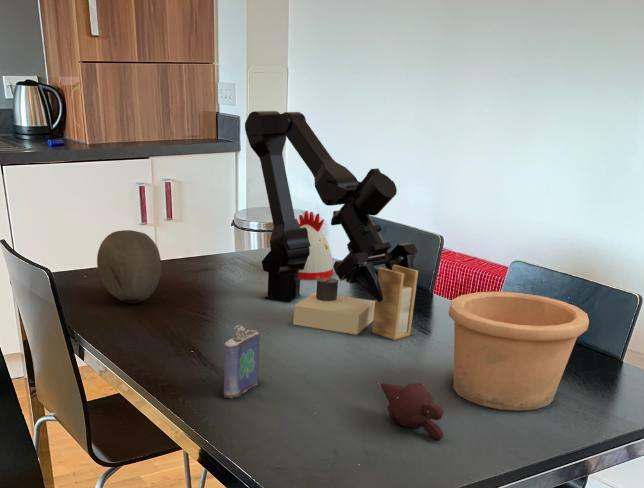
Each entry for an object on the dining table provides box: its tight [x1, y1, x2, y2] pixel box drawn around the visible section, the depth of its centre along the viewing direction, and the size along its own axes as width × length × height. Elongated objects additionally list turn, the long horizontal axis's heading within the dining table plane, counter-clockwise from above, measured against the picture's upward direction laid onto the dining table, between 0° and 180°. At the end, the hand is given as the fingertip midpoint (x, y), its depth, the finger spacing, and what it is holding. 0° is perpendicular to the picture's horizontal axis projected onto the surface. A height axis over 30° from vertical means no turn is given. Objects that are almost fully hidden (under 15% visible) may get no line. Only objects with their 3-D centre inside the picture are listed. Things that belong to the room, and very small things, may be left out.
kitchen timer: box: [295, 210, 334, 280], centre depth 198 cm, size 14×14×15 cm
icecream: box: [379, 382, 445, 441], centre depth 119 cm, size 7×7×15 cm
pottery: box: [448, 291, 590, 412], centre depth 130 cm, size 22×22×14 cm
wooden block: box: [292, 291, 375, 336], centre depth 165 cm, size 14×13×4 cm
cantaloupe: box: [96, 229, 162, 305], centre depth 170 cm, size 14×14×15 cm
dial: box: [315, 277, 339, 301], centre depth 166 cm, size 4×4×4 cm
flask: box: [223, 324, 261, 399], centre depth 128 cm, size 9×3×11 cm, turn 151°
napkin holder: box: [371, 265, 419, 341], centre depth 157 cm, size 6×5×13 cm
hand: (396, 297), depth 156 cm, fingers open, 9 cm apart
